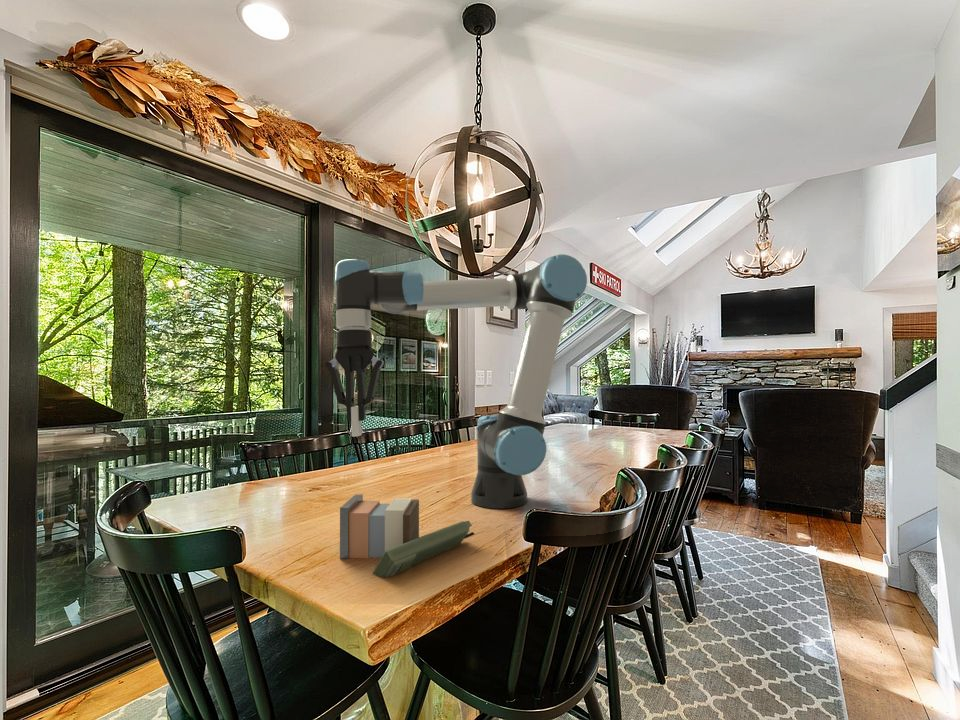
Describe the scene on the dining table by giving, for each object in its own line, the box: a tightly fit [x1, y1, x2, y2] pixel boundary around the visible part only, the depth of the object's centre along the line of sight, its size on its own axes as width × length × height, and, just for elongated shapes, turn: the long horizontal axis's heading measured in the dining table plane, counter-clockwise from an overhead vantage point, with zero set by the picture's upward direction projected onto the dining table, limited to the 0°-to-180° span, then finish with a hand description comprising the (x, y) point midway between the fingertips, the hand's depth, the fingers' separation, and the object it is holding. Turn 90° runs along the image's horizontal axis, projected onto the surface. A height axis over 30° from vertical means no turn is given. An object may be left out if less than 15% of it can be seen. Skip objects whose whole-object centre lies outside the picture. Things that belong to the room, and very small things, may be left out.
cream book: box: [385, 497, 413, 551], centre depth 84 cm, size 4×8×8 cm, turn 179°
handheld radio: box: [372, 520, 476, 578], centre depth 82 cm, size 7×3×25 cm
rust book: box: [348, 500, 381, 559], centre depth 85 cm, size 4×8×8 cm, turn 179°
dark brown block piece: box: [403, 498, 420, 544], centre depth 85 cm, size 21×10×9 cm, turn 88°
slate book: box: [368, 503, 390, 558], centre depth 84 cm, size 3×8×8 cm, turn 178°
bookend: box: [339, 493, 364, 560], centre depth 85 cm, size 2×9×9 cm, turn 178°
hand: (356, 435), depth 100 cm, fingers closed
